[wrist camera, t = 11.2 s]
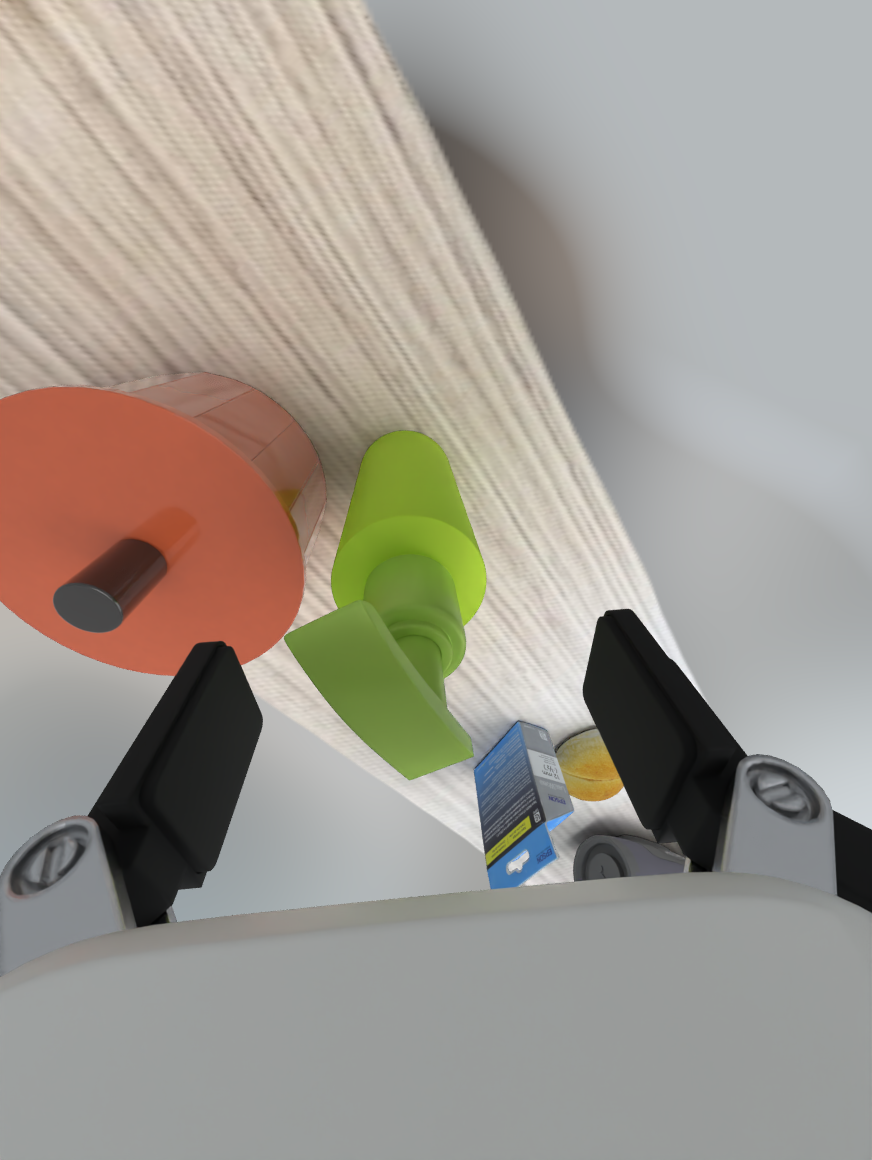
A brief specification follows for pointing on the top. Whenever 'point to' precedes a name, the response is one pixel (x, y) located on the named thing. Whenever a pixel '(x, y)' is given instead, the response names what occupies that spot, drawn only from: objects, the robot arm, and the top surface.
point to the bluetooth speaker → (623, 858)
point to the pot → (251, 437)
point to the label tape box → (520, 804)
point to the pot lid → (139, 531)
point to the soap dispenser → (399, 607)
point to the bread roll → (588, 767)
